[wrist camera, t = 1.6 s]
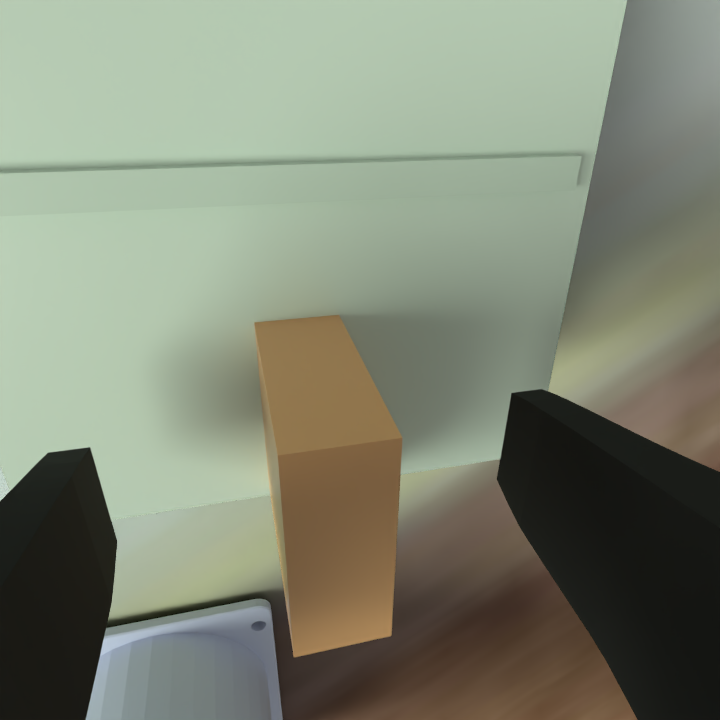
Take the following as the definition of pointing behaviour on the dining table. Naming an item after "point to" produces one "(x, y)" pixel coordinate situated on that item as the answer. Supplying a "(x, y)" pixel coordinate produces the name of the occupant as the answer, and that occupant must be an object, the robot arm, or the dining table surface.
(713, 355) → the dining table surface
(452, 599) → the dining table surface
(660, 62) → the dining table surface
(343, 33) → the lid
